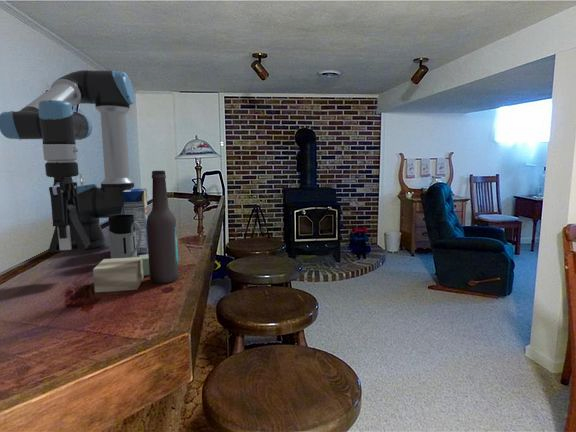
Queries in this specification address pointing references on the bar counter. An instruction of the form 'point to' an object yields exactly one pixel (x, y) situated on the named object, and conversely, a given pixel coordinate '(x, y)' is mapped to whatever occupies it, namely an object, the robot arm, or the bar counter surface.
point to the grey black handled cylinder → (123, 236)
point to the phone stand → (77, 232)
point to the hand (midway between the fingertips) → (70, 246)
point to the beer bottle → (161, 234)
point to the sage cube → (145, 264)
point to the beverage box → (137, 214)
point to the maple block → (118, 274)
